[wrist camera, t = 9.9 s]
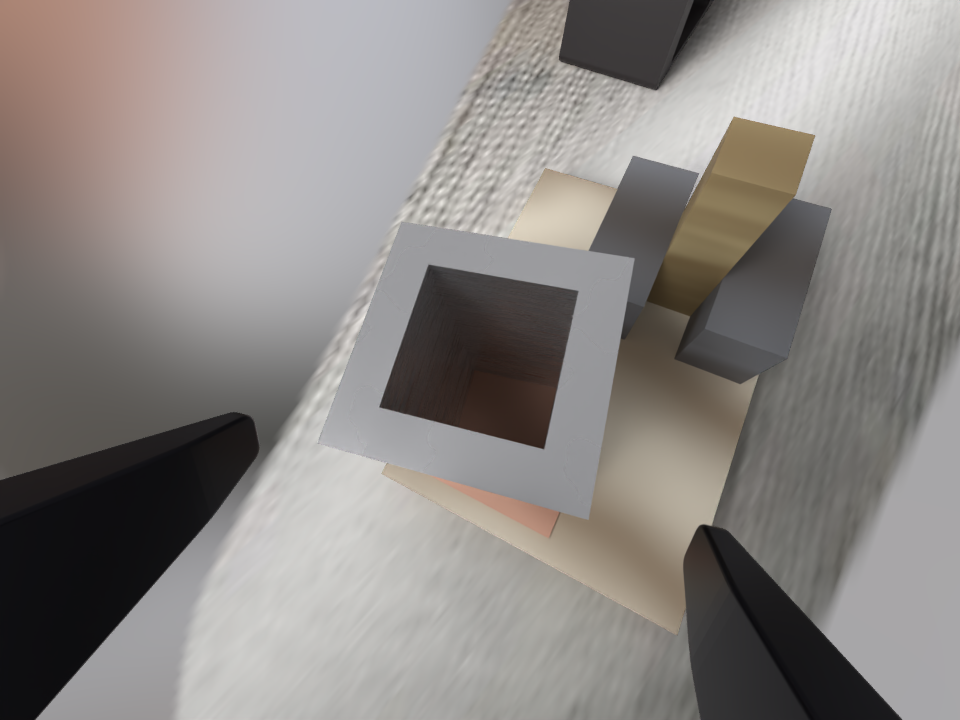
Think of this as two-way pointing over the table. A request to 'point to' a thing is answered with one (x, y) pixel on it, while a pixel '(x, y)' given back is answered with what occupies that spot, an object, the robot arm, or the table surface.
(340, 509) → the table surface
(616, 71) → the phone stand
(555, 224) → the board
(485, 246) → the steel sleeve
